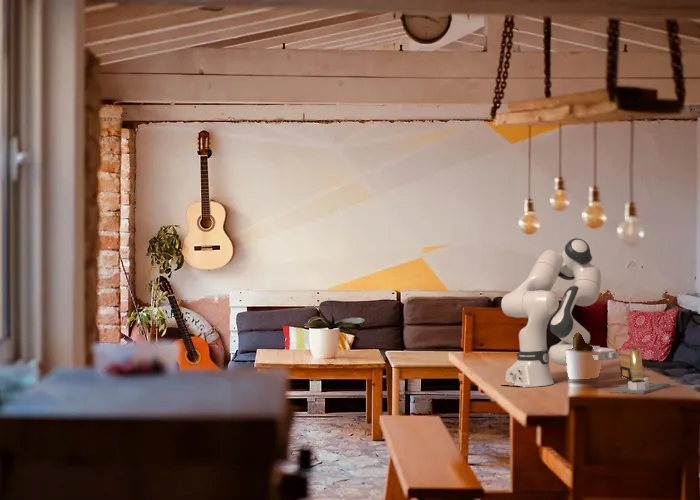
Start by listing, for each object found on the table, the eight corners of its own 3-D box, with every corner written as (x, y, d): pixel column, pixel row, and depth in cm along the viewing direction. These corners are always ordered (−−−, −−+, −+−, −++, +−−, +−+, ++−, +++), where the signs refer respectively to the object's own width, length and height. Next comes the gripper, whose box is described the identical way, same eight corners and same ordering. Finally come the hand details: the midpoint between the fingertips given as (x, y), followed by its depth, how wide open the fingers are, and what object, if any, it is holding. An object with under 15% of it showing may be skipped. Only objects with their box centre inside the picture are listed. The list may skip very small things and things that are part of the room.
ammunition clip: (620, 378, 356) (618, 349, 356) (625, 377, 356) (622, 348, 357) (630, 380, 345) (627, 351, 346) (634, 380, 345) (632, 350, 346)
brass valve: (630, 388, 316) (626, 346, 316) (636, 387, 319) (632, 344, 319) (647, 389, 311) (643, 346, 312) (653, 388, 314) (649, 344, 314)
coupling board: (608, 392, 318) (607, 382, 318) (636, 385, 332) (635, 375, 332) (643, 394, 308) (642, 384, 308) (670, 386, 321) (669, 376, 322)
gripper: (561, 349, 333) (588, 350, 321) (599, 345, 344) (626, 346, 332) (563, 365, 333) (589, 367, 321) (601, 361, 343) (627, 362, 331)
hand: (608, 356), depth 326 cm, fingers open, 8 cm apart
